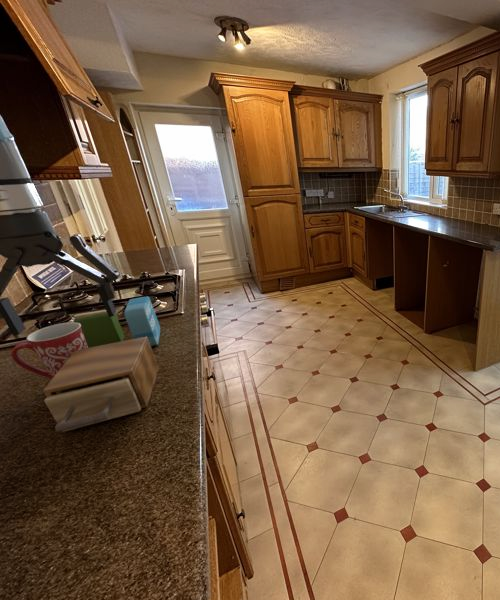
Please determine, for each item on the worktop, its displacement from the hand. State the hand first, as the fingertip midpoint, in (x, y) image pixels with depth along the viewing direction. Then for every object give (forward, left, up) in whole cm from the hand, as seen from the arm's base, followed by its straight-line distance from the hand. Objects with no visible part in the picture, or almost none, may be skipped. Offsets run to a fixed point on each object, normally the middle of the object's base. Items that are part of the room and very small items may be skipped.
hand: (68, 322), depth 63 cm
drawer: (+3, -3, -19) cm, 20 cm away
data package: (-9, +28, -20) cm, 35 cm away
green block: (-21, +27, -20) cm, 39 cm away
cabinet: (0, +3, -20) cm, 20 cm away
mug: (-16, +9, -20) cm, 27 cm away
